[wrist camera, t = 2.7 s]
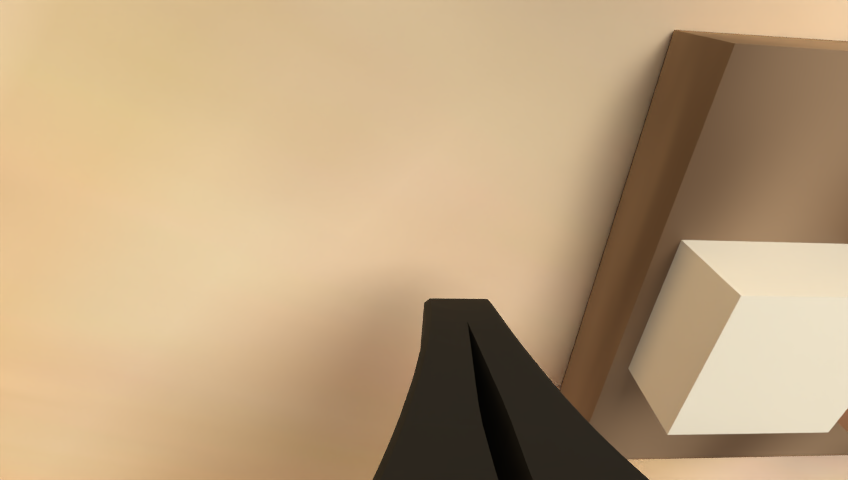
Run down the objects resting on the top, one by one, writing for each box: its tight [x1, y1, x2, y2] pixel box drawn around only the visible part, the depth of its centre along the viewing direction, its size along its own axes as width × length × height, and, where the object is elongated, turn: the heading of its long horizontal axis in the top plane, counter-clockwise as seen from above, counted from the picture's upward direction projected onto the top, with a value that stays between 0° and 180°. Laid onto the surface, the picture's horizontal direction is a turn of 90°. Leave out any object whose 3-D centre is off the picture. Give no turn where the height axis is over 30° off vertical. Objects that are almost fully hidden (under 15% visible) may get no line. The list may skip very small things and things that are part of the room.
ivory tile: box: [628, 240, 848, 435], centre depth 10 cm, size 4×4×2 cm
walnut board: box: [560, 30, 848, 459], centre depth 12 cm, size 10×12×2 cm
